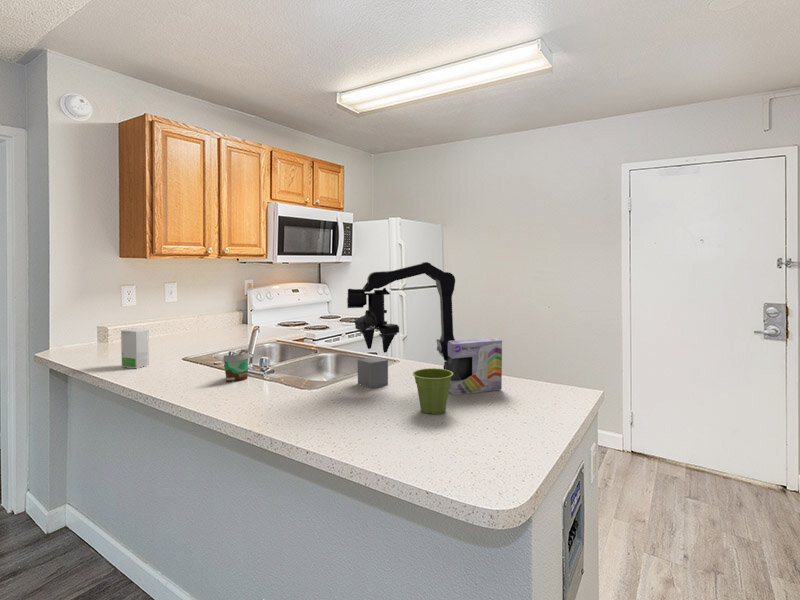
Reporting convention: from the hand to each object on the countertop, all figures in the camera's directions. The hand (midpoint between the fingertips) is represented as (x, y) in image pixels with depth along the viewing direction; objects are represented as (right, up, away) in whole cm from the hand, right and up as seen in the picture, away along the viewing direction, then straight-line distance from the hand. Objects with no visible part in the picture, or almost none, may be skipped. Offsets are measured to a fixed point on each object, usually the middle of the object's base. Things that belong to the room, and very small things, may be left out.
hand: (377, 350), depth 160 cm
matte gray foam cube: (-1, -12, -1) cm, 12 cm away
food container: (-51, -12, +6) cm, 52 cm away
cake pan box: (+33, -13, -10) cm, 37 cm away
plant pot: (+18, -15, -29) cm, 37 cm away
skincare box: (-102, -10, +26) cm, 105 cm away
